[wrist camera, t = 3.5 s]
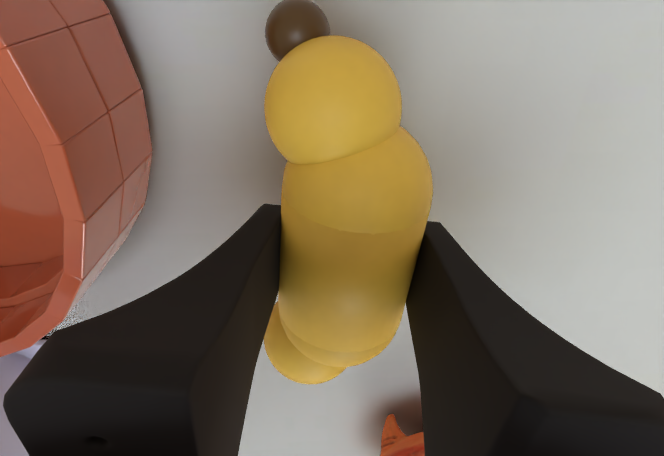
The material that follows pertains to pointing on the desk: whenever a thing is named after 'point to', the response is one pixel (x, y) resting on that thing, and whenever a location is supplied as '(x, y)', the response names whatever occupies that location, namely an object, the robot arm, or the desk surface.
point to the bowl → (63, 158)
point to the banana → (339, 197)
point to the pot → (400, 441)
